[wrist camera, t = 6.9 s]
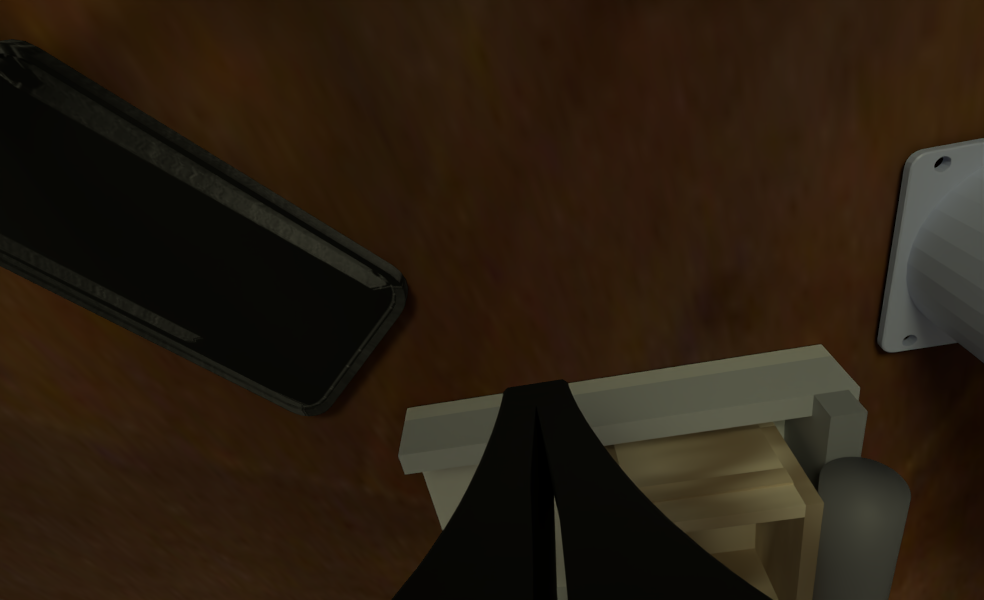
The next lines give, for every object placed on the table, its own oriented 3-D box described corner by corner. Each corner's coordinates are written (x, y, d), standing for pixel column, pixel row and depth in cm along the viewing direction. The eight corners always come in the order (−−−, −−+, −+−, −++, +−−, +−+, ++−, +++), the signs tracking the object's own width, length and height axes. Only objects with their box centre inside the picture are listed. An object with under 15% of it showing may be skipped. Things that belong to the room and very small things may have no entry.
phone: (-22, 24, 17) (417, 291, 21) (7, 21, 18) (420, 277, 22) (-78, 230, 20) (315, 427, 24) (-51, 218, 21) (322, 409, 25)
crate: (769, 413, 24) (824, 500, 20) (762, 545, 28) (807, 639, 24) (597, 438, 24) (618, 527, 20) (615, 563, 28) (635, 659, 24)
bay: (829, 343, 23) (950, 475, 17) (805, 557, 30) (888, 709, 23) (407, 408, 25) (379, 550, 19) (471, 598, 31) (466, 751, 25)
